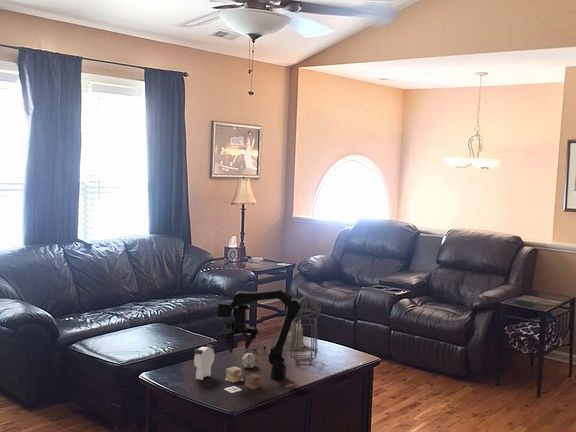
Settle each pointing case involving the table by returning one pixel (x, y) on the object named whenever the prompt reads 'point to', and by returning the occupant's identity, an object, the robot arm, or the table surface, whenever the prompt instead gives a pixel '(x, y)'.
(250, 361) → the game die
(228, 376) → the oak block
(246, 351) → the eyeglasses
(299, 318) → the geometric lantern
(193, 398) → the table surface
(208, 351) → the white rounded piece
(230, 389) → the board
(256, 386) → the walnut block
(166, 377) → the table surface
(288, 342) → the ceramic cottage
